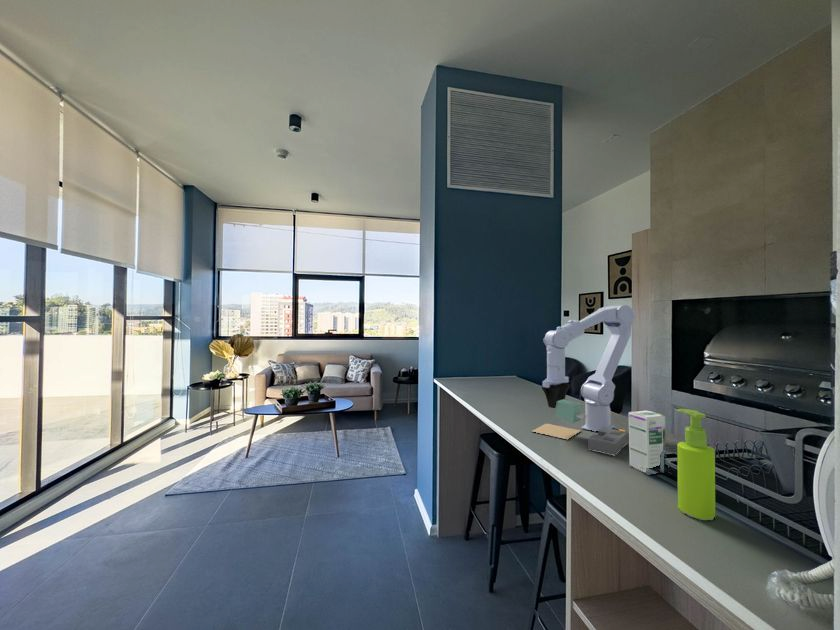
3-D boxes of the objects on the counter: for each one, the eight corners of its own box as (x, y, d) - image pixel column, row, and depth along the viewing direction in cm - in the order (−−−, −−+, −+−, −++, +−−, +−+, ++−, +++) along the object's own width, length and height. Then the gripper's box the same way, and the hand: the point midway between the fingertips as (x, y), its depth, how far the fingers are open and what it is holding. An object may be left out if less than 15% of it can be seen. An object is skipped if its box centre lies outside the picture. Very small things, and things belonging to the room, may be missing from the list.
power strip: (602, 438, 114) (602, 425, 114) (627, 443, 109) (627, 430, 109) (588, 450, 104) (588, 436, 104) (614, 456, 99) (614, 442, 99)
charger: (563, 414, 121) (564, 398, 121) (588, 422, 115) (588, 405, 114) (555, 417, 118) (556, 401, 118) (580, 425, 112) (581, 408, 111)
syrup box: (648, 476, 87) (648, 416, 87) (628, 466, 92) (628, 410, 92) (666, 473, 88) (666, 415, 88) (645, 464, 94) (645, 409, 94)
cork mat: (546, 424, 129) (546, 423, 129) (580, 431, 121) (580, 430, 121) (531, 432, 120) (531, 431, 120) (567, 440, 112) (567, 439, 112)
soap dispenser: (694, 502, 75) (693, 406, 75) (723, 521, 68) (722, 415, 68) (666, 502, 74) (666, 407, 75) (693, 521, 67) (692, 416, 68)
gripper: (556, 369, 113) (557, 412, 113) (577, 365, 122) (577, 404, 122) (536, 366, 118) (536, 408, 118) (557, 363, 128) (557, 401, 127)
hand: (556, 406), depth 120 cm, fingers closed on charger, 5 cm apart
